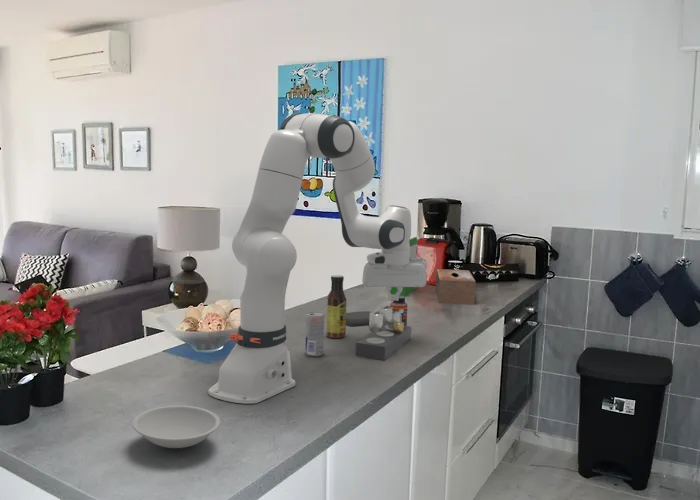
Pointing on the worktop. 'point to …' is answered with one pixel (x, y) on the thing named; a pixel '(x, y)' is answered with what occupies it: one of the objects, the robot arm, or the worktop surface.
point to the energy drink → (314, 334)
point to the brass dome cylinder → (398, 327)
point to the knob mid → (386, 315)
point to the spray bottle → (357, 318)
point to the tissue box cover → (455, 287)
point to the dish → (176, 425)
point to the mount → (382, 343)
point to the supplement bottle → (400, 308)
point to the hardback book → (412, 255)
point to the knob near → (376, 321)
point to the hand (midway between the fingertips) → (393, 300)
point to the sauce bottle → (336, 309)
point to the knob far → (395, 318)
